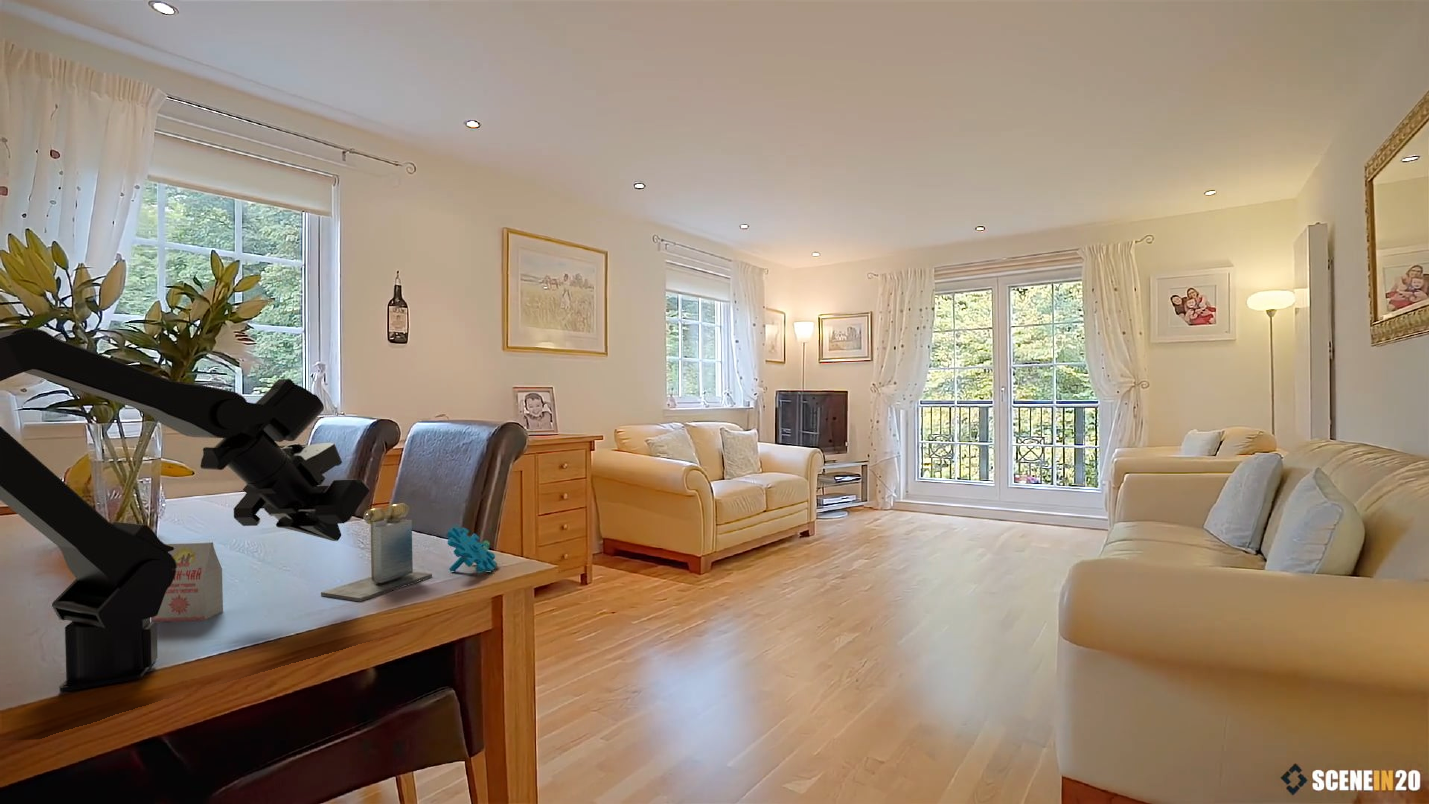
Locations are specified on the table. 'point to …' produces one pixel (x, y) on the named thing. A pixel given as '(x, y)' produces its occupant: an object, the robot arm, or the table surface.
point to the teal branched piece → (470, 550)
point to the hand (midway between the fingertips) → (337, 538)
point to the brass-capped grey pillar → (390, 546)
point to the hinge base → (367, 586)
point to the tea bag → (193, 584)
